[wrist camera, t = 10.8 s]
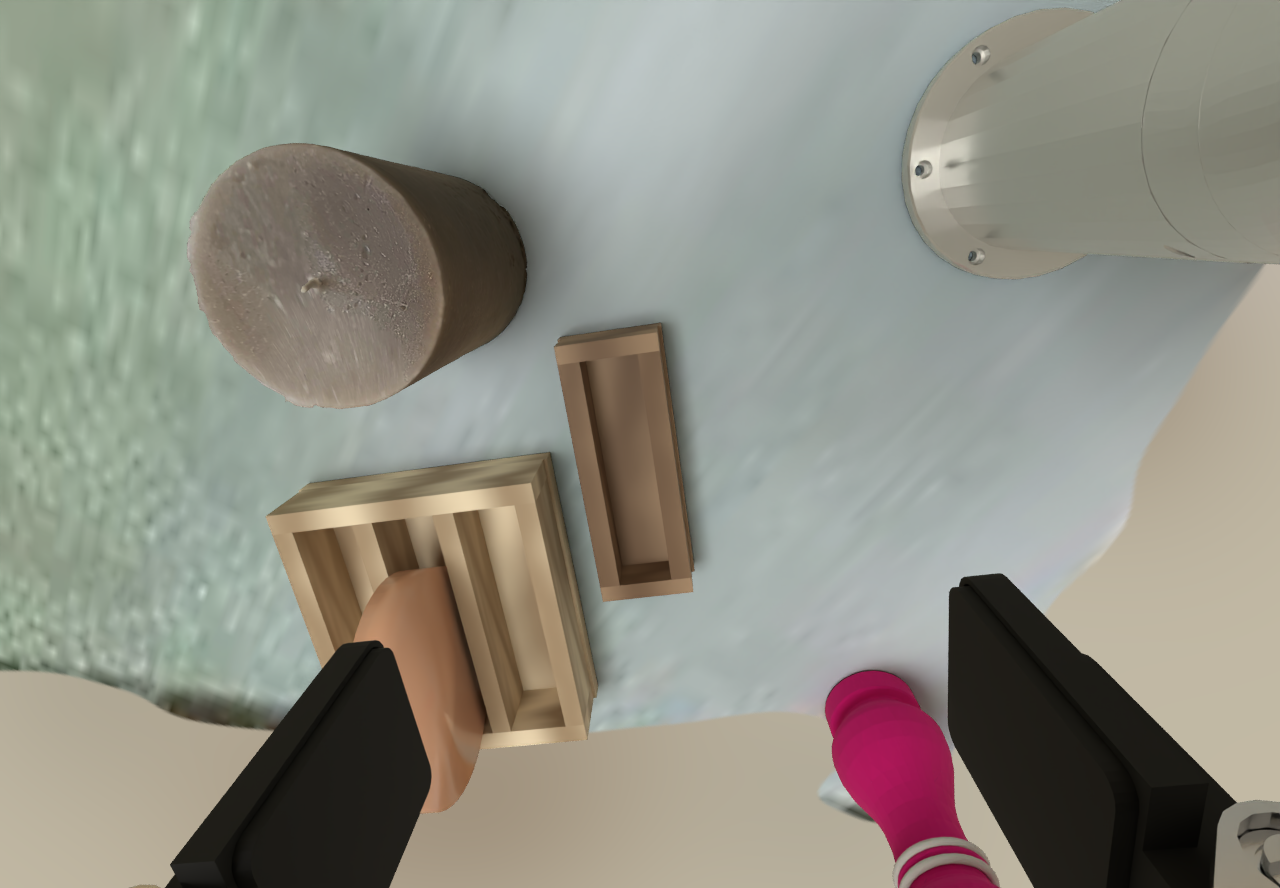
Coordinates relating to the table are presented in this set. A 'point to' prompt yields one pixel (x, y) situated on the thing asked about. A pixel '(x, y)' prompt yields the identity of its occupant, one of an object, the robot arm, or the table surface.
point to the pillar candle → (350, 271)
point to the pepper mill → (903, 781)
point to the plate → (431, 673)
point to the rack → (457, 579)
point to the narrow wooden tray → (628, 460)
